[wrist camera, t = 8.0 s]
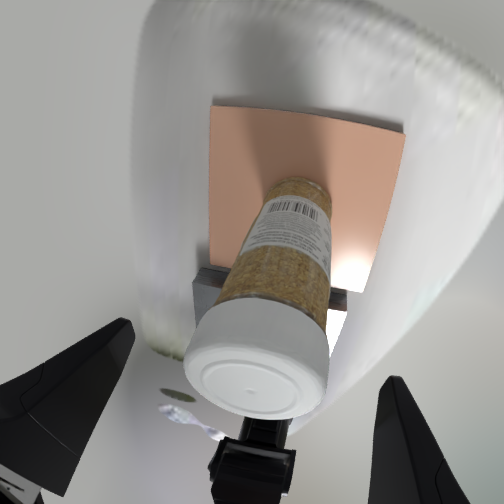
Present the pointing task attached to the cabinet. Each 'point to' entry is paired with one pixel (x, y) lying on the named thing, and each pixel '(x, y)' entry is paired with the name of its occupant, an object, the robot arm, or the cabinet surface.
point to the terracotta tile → (307, 166)
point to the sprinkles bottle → (271, 312)
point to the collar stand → (212, 283)
